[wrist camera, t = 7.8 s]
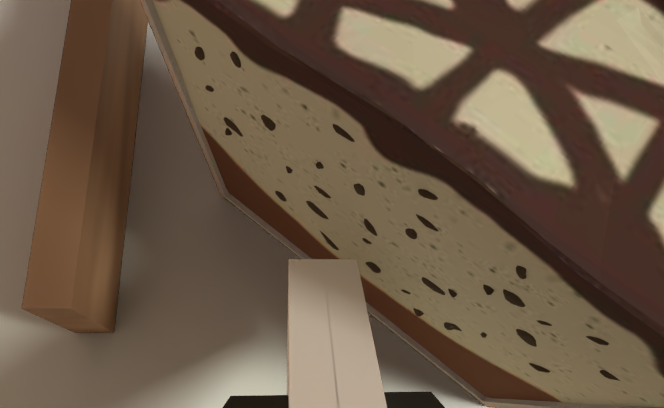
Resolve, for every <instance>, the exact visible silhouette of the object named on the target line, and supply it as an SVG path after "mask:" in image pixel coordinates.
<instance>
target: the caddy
mask: <svg viewBox="0 0 664 408" xmlns="http://www.w3.org/2000/svg"><path fill="white" fill-rule="evenodd" d="M147 24H148V19H147V17H146V15H145V12H144V10H143V7H142V5H141V3H140V0H71V5H70V11H69V17H68V24H67V30H66V36H65V42H64V48H63V55H62V61H61V67H60V73H59V79H58V86H57V92H56V98H55V104H54V110H53V117H52V123H51V129H50V135H49V141H48V148H47V154H46V160H45V166H44V172H43V179H42V185H41V191H40V197H39V203H38V210H37V216H36V222H35V228H34V234H33V241H32V247H31V253H30V259H29V265H28V272H27V278H26V284H25V290H24V296H23V303H22V309H24V310H26V311H28V312H31V313H33V314H35V315H37V316H39V317H42V318H44V319H46V320H48V321H51V322H53V323H55V324H57V325H59V326H62V327H64V328H66V329H68V330H70V331H73V332H75V333H114V329H115V320H116V310H117V301H118V292H119V283H120V273H121V264H122V255H123V246H124V237H125V227H126V218H127V209H128V200H129V190H130V181H131V172H132V163H133V153H134V144H135V135H136V126H137V117H138V107H139V98H140V89H141V80H142V70H143V61H144V52H145V43H146V33H147Z"/></svg>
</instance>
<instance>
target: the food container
mask: <svg viewBox="0 0 664 408" xmlns="http://www.w3.org/2000/svg"><path fill="white" fill-rule="evenodd" d="M140 3H141V5H142V7H143V10H144V12H145V15H146V17H147V19H148V22H149V24H150V27H151V29H152V31H153V34H154V36H155V39H156V41H157V43H158V46H159V48H160V51H161V53H162V55H163V58H164V60H165V63H166V65H167V67H168V70H169V72H170V74H171V77H172V79H173V82H174V84H175V86H176V89H177V91H178V94H179V96H180V98H181V101H182V103H183V106H184V108H185V110H186V113H187V115H188V118H189V120H190V122H191V125H192V127H193V130H194V132H195V134H196V137H197V139H198V142H199V144H200V146H201V149H202V151H203V154H204V156H205V158H206V161H207V163H208V166H209V168H210V170H211V173H212V175H213V178H214V180H215V182H216V185H217V187H218V190H219V192H220V194H221V195H222V196H223V197H224V198H226V199H227V200H228V201H229V202H231V203H232V204H233V205H234V206H236V207H237V208H238V209H239V210H241V211H242V212H243V213H244V214H246V215H247V216H248V217H249V218H251V219H252V220H253V221H254V222H256V223H257V224H258V225H259V226H261V227H262V228H263V229H264V230H266V231H267V232H268V233H270V234H271V235H272V236H273V237H275V238H276V239H277V240H278V241H280V242H281V243H282V244H283V245H285V246H286V247H287V248H288V249H290V250H291V251H292V252H293V253H295V254H296V255H297V256H298V257H300V258H301V259H357V263H358V268H359V272H360V277H361V282H362V287H363V292H364V297H365V302H366V307H367V312H369V313H370V314H371V315H372V316H374V317H375V318H376V319H377V320H379V321H380V322H381V323H382V324H384V325H385V326H386V327H387V328H389V329H390V330H391V331H392V332H394V333H395V334H396V335H397V336H399V337H400V338H401V339H403V340H404V341H405V342H406V343H408V344H409V345H410V346H411V347H413V348H414V349H415V350H416V351H418V352H419V353H420V354H421V355H423V356H424V357H425V358H426V359H428V360H429V361H430V362H431V363H433V364H434V365H435V366H436V367H438V368H439V369H440V370H441V371H443V372H444V373H445V374H446V375H448V376H449V377H450V378H451V379H453V380H454V381H455V382H456V383H458V384H459V385H460V386H461V387H463V388H464V389H465V390H466V391H468V392H469V393H470V394H472V395H473V396H474V397H475V398H477V399H478V400H479V401H480V402H482V403H483V404H484V405H485V406H487V407H493V408H664V0H140Z"/></svg>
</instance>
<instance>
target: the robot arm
mask: <svg viewBox="0 0 664 408" xmlns="http://www.w3.org/2000/svg"><path fill="white" fill-rule="evenodd" d="M223 408H445V407H444V406H443V405H442V404H441V403H440V402H439V400H438V399H437V398H436V397H435V396H434V395H433V394H432V392H384V390H383V385H382V380H381V375H380V370H379V365H378V360H377V356H376V351H375V346H374V341H373V336H372V331H371V326H370V321H369V316H368V312H367V307H366V302H365V297H364V292H363V287H362V282H361V277H360V272H359V268H358V263H357V259H289V264H288V325H287V395H274V396H230V398H229V399H228V401H227V402H226V404H225V405H224V407H223Z"/></svg>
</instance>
